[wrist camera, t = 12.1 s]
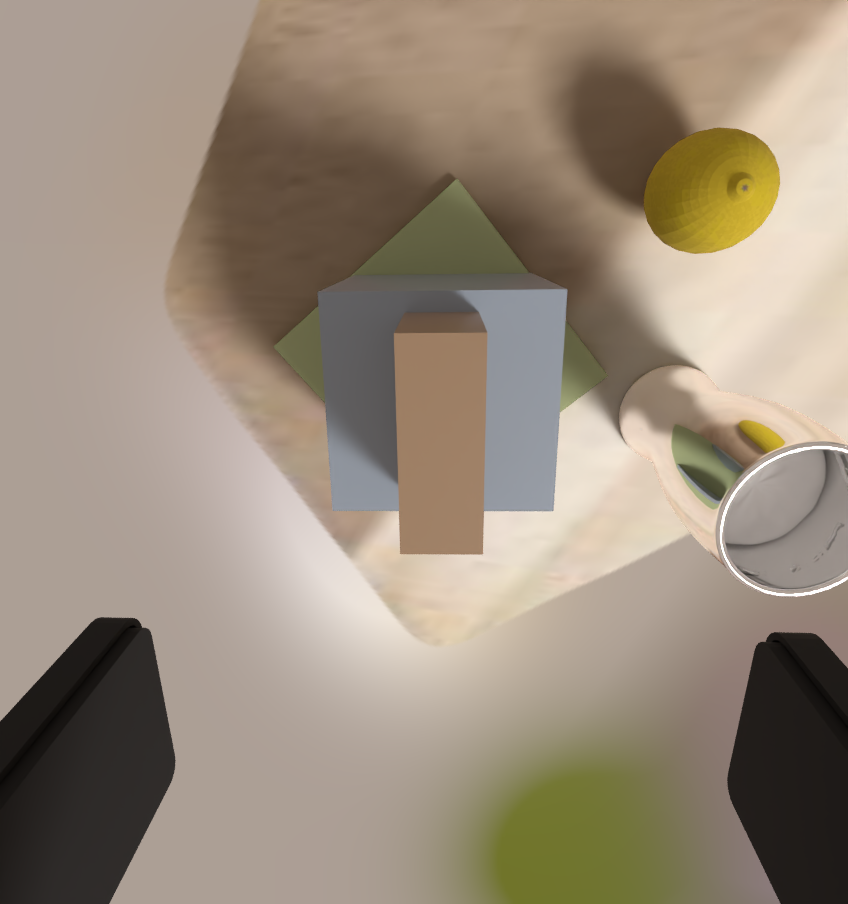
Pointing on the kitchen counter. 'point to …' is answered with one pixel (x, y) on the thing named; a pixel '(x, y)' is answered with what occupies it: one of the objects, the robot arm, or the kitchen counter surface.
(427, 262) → the mat
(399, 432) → the cover
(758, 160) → the lemon
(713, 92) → the kitchen counter surface
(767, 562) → the beer glass
